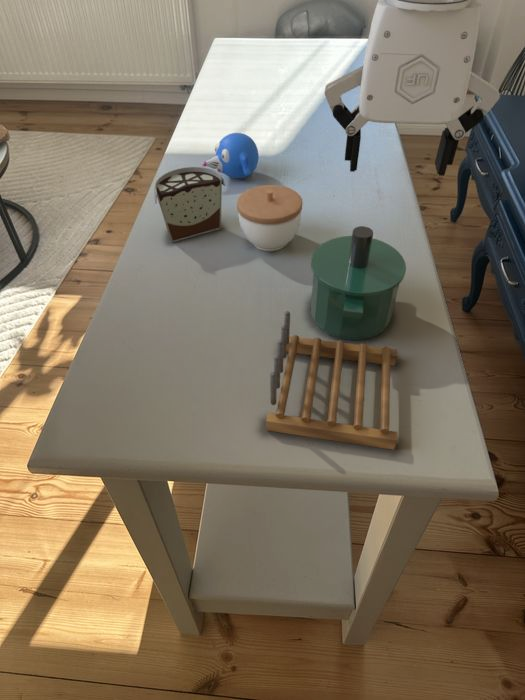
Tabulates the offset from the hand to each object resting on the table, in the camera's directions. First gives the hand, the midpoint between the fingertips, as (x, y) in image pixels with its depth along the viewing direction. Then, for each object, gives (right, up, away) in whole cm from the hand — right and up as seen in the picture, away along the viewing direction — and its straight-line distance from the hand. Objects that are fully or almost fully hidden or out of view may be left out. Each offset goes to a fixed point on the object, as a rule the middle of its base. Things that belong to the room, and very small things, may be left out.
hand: (395, 168), depth 55 cm
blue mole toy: (-22, +15, +45) cm, 52 cm away
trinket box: (-14, -2, +30) cm, 33 cm away
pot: (-2, -15, +17) cm, 23 cm away
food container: (-28, +2, +33) cm, 43 cm away
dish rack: (-6, -26, +6) cm, 28 cm away
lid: (-2, -9, +10) cm, 14 cm away
